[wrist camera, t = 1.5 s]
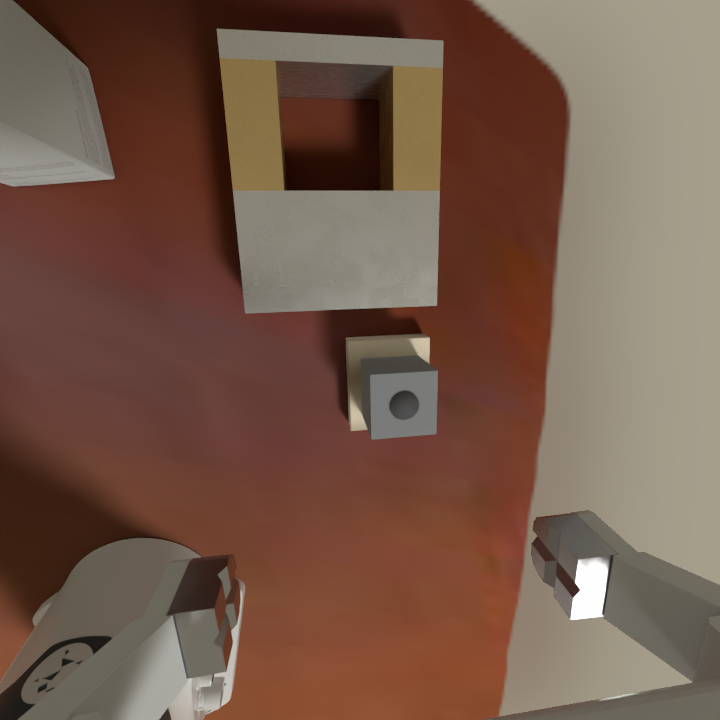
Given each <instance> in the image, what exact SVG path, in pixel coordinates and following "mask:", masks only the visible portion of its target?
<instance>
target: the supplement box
mask: <svg viewBox="0 0 720 720" xmlns="http://www.w3.org/2000/svg"><path fill="white" fill-rule="evenodd" d="M114 178H115V176H114V171H113V167H112V163H111V158H110V154H109V150H108V146H107V142H106V137H105V134H104V130H103V125H102V121H101V117H100V113H99V109H98V105H97V100H96V96H95V93H94V88H93V84H92V80H91V77H90V73H89V70H88V68H87V66H85V65H84V64H83V63H82V62H81V61H80V60H79V59H78V58H77V57H75V56H74V55H73V54H72V53H71V52H70V51H69V50H68V49H67V48H66V47H64V46H63V45H62V44H61V43H60V42H59V41H58V40H57V39H55V38H54V37H53V36H52V35H51V34H50V33H49V32H48V31H47V30H45V29H44V28H43V27H42V26H41V25H40V24H39V23H38V22H36V21H35V20H34V19H33V18H32V17H31V16H30V15H29V14H28V13H27V12H25V11H24V10H23V9H22V8H21V7H20V6H19V5H18V4H17V3H15V2H14V1H13V0H0V183H3V184H7V185H10V186H30V185H44V184H57V183H69V182H82V181H95V180H107V179H114Z"/></svg>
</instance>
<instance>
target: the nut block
mask: <svg viewBox="0 0 720 720" xmlns="http://www.w3.org/2000/svg"><path fill="white" fill-rule="evenodd" d="M360 361H361V399H362V416H363V419H364V421H365V424H366V427H367V429H368V432H369V435H370V437H371V440H372V439H384V438H396V437H407V436H419V435H431V434H436V425H437V387H438V370H436V369H435V368H434V367H433V366H431V365H430V364H429V363H427V362H426V361H425V360H424V359H422V358H421V357H420V356H418V355H415V356H397V357H380V358H363V359H360Z"/></svg>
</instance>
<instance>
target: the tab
mask: <svg viewBox="0 0 720 720" xmlns="http://www.w3.org/2000/svg"><path fill="white" fill-rule="evenodd" d="M429 352H430V337H428V336H426V335H424V334H404V335H384V336H364V337H346V362H347V390H348V419H349V425H350V429H351V431H357V430H368V429H367V427H366V424H365V421H364V419H363V416H362V399H361V361H360V359H363V358H380V357H397V356H415V355H418V356H420V357H421V358H422V359H424V360H425V361H426V362H427V363H429Z"/></svg>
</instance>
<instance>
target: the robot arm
mask: <svg viewBox="0 0 720 720" xmlns="http://www.w3.org/2000/svg"><path fill="white" fill-rule="evenodd" d="M533 531H534V532H535V533H536V535H537V537H536V539H535V540H534V542H533V543H532V549H531V555H532V559H533V564H534V566H535V569H536V571H537V572H538V574H539V576H540V577H541V579H542V580H543V582H545V583H546V584H548V585H550V586H551V587H553V588H554V597H555V599H556V600H557V602H558V603H559V604H560V606H561V607H562V608H563V610H564V611H565V613H566V614H567V615H568V617H569V618H570V620H575V619H584V618H592V617H601V616H604V619H605V620H607V621H608V622H610V623H611V624H612V625H614V626H615V627H617V628H618V629H619V630H621V631H622V632H624V633H625V634H626V635H628V636H629V637H631V638H632V639H634V640H635V641H636V642H638V643H639V644H640V645H642V646H643V647H645V648H646V649H648V650H649V651H651V652H652V653H653V654H654V655H656V656H657V657H659V658H660V659H661V660H663V661H664V662H666V663H667V664H668V665H670V666H671V667H673V668H674V669H676V670H677V671H678V672H680V673H681V674H683V675H684V676H685V677H687V678H688V679H690V680H691V681H692V683H689V684H684V685H678V686H672V687H666V688H661V689H655V690H649V691H643V692H637V693H631V694H626V695H620V696H614V697H609V698H603V699H598V700H591V701H586V702H580V703H574V704H569V705H563V706H558V707H552V708H546V709H540V710H535V711H529V712H523V713H517V714H512V715H506V716H500V717H494V718H488V719H483V720H720V585H718V584H716V583H713V582H711V581H709V580H706V579H704V578H702V577H700V576H697V575H695V574H693V573H691V572H688V571H686V570H684V569H682V568H679V567H677V566H674V565H672V564H670V563H668V562H665V561H663V560H661V559H659V558H656V557H654V556H652V555H650V554H647V553H645V552H637V551H636V550H635V549H634V548H632V547H631V546H630V545H629V544H628V543H627V542H626V541H625V540H623V539H622V538H621V537H620V536H619V535H618V534H617V533H616V532H614V531H613V530H612V529H611V528H610V527H609V526H608V525H607V524H606V523H604V521H602V520H601V519H600V518H599V517H598V516H597V515H596V514H595V513H593V512H591V511H589V510H586V511H579V512H572V513H569V514H568V513H567V514H560V515H552V516H544V517H537V518H536V519H535V521H534V525H533ZM235 571H236V562H235V557H234V556H233V555H232V554H231V555H220V556H210V557H201V556H200V555H198V554H197V553H195V552H194V551H192V550H190V549H188V548H187V547H184V546H182V545H180V544H177V543H174V542H170V541H166V540H162V539H154V538H132V539H125V540H120V541H116V542H113V543H110V544H107V545H105V546H102V547H100V548H98V549H96V550H94V551H93V552H91V553H90V554H88V555H87V556H85V557H84V558H83V559H82V560H81V561H80V562H79V563H78V564H77V565H76V566H75V567H74V568H73V570H72V571H71V573H70V574H69V576H68V578H67V580H66V582H65V583H64V585H63V587H62V588H61V589H60V591H59V592H57V593H56V594H54V595H53V596H51V597H50V598H49V599H47V600H46V601H45V602H44V603H43V604H41V606H40V607H39V609H38V610H37V612H36V613H35V615H34V617H33V624H34V626H35V628H34V630H33V631H32V633H31V634H30V636H29V638H28V639H27V641H26V642H25V644H24V645H23V647H22V648H21V650H20V652H19V653H18V655H17V656H16V658H15V659H14V661H13V663H12V664H11V666H10V667H9V669H8V671H7V672H6V674H5V675H4V677H3V678H2V680H1V682H0V720H204V717H205V715H206V714H208V713H210V712H212V711H214V710H218V709H220V707H221V706H223V705H224V704H226V703H227V702H228V701H229V700H230V698H231V694H232V690H233V686H234V678H235V670H236V661H237V653H238V645H239V636H240V628H241V620H242V611H243V603H244V595H245V585H244V583H243V582H242V581H241V580H239V579H237V578H235V577H234V575H235Z"/></svg>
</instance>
